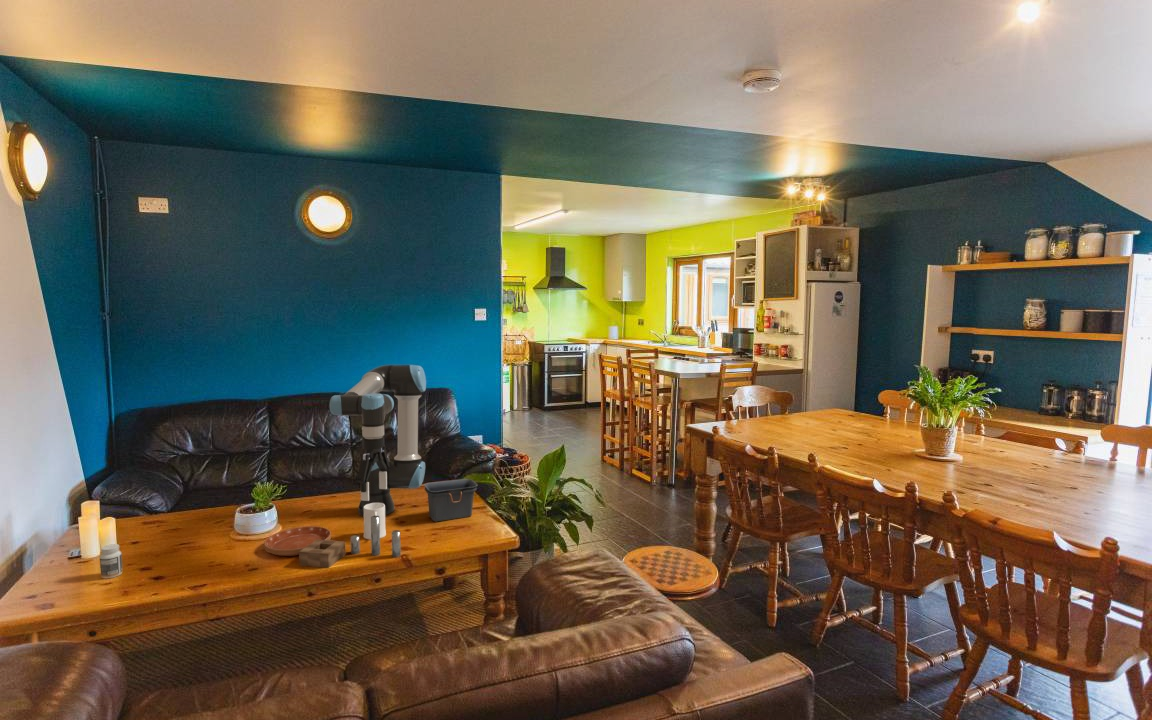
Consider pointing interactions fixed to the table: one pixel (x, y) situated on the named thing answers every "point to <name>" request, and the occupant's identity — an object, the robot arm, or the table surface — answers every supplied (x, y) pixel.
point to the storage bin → (450, 499)
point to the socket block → (322, 553)
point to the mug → (374, 510)
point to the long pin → (375, 536)
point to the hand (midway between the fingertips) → (374, 494)
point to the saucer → (295, 540)
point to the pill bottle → (111, 561)
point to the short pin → (355, 544)
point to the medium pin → (396, 544)
